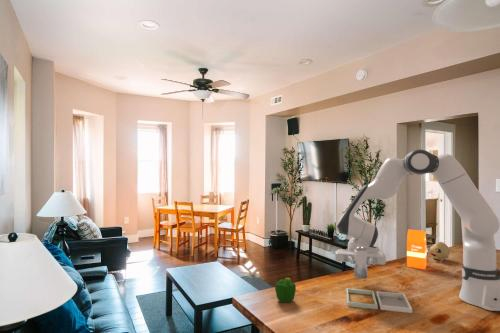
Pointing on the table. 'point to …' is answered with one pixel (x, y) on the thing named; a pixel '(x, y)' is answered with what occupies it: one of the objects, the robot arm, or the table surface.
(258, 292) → the table surface
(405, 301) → the bin
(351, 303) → the bin
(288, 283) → the bell pepper
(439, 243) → the toy pig
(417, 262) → the orange juice
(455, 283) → the table surface
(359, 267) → the chrome tube with bumps
